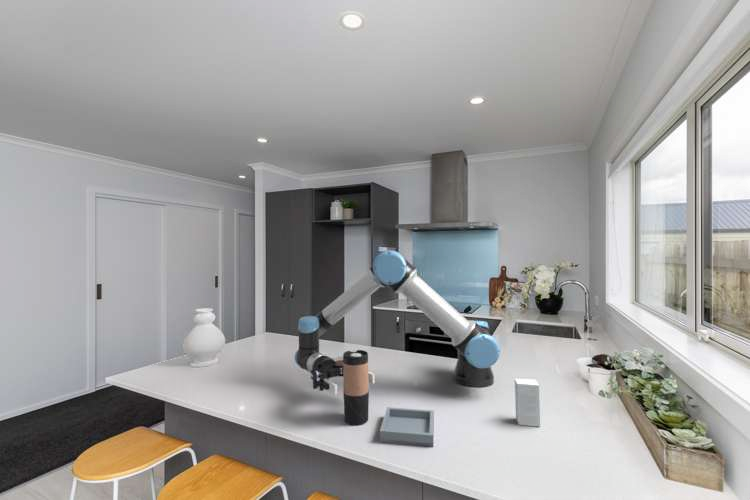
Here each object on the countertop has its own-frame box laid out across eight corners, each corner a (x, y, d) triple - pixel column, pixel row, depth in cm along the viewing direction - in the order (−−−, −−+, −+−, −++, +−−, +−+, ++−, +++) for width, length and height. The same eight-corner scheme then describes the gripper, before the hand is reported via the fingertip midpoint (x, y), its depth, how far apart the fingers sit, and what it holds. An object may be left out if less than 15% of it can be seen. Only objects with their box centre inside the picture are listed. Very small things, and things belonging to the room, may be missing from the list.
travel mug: (359, 428, 97) (358, 358, 97) (338, 421, 101) (337, 354, 101) (373, 417, 104) (373, 351, 104) (353, 411, 108) (352, 348, 108)
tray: (433, 420, 101) (433, 410, 101) (433, 447, 87) (433, 435, 87) (387, 417, 104) (387, 407, 104) (379, 442, 90) (379, 430, 90)
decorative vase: (213, 354, 171) (212, 305, 171) (233, 361, 161) (232, 308, 161) (175, 364, 157) (175, 310, 157) (194, 372, 146) (194, 314, 146)
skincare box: (536, 420, 101) (536, 379, 101) (540, 427, 97) (539, 385, 97) (515, 418, 102) (514, 378, 102) (517, 425, 98) (516, 383, 98)
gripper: (351, 369, 126) (387, 386, 110) (288, 385, 111) (318, 408, 94) (351, 348, 126) (387, 363, 110) (287, 362, 111) (318, 381, 94)
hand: (355, 384), depth 102 cm, fingers open, 13 cm apart
